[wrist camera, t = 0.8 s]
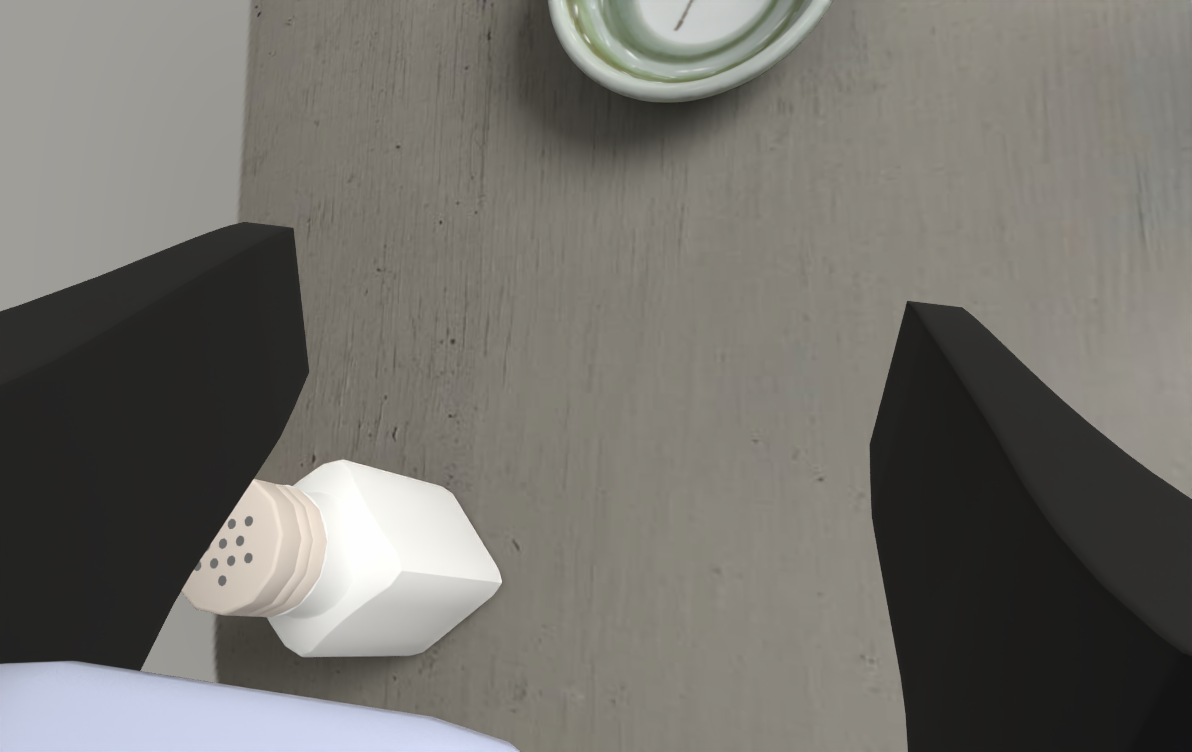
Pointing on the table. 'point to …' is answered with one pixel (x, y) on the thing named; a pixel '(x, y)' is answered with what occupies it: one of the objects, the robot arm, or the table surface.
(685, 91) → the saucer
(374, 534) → the salt shaker
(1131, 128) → the table surface
